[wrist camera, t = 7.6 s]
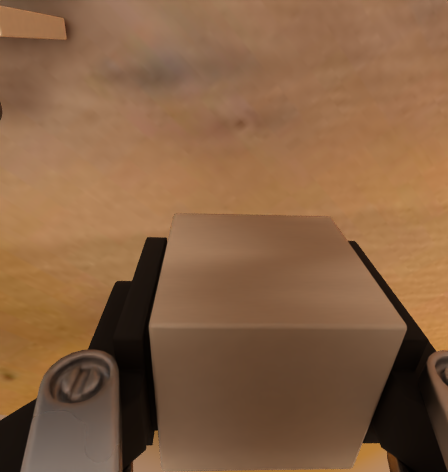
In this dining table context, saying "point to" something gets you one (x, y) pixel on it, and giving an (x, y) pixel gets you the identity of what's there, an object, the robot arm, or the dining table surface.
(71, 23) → the dining table surface
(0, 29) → the drawer
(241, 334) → the block
